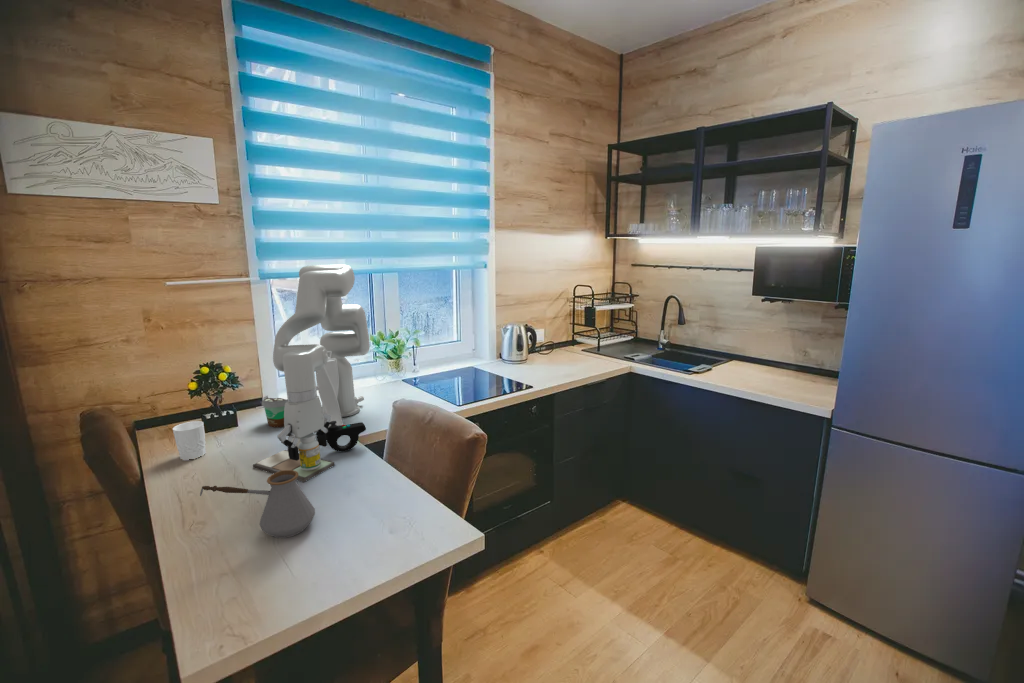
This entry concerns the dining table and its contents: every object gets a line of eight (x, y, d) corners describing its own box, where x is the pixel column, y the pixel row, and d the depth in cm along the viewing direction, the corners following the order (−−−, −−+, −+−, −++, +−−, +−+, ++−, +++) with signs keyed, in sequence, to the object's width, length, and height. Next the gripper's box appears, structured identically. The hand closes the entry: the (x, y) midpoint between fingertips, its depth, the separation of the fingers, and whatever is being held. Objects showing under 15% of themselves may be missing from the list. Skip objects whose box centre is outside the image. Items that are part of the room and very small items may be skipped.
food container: (256, 427, 169) (252, 400, 167) (269, 420, 175) (266, 395, 173) (284, 430, 166) (281, 403, 164) (297, 423, 171) (293, 397, 169)
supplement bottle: (322, 467, 134) (319, 436, 132) (302, 473, 132) (298, 440, 130) (319, 460, 139) (315, 430, 137) (299, 465, 136) (295, 434, 134)
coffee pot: (312, 508, 116) (305, 452, 113) (320, 532, 106) (313, 471, 103) (209, 537, 105) (199, 475, 102) (208, 566, 95) (197, 499, 92)
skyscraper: (325, 426, 170) (317, 350, 164) (347, 426, 169) (340, 350, 163) (315, 435, 161) (306, 356, 155) (338, 435, 161) (330, 356, 155)
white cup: (214, 450, 150) (209, 421, 148) (195, 462, 143) (190, 431, 140) (191, 450, 151) (186, 420, 149) (171, 461, 143) (166, 430, 141)
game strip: (285, 452, 148) (285, 449, 147) (334, 465, 138) (334, 461, 138) (253, 467, 138) (252, 463, 138) (303, 482, 129) (303, 478, 129)
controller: (325, 451, 148) (322, 421, 146) (366, 443, 153) (363, 414, 151) (327, 456, 144) (324, 426, 142) (368, 448, 150) (366, 418, 148)
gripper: (317, 384, 140) (323, 438, 143) (264, 402, 125) (273, 462, 128) (336, 387, 136) (341, 443, 140) (284, 406, 121) (292, 467, 125)
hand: (308, 452), depth 134 cm, fingers open, 9 cm apart
